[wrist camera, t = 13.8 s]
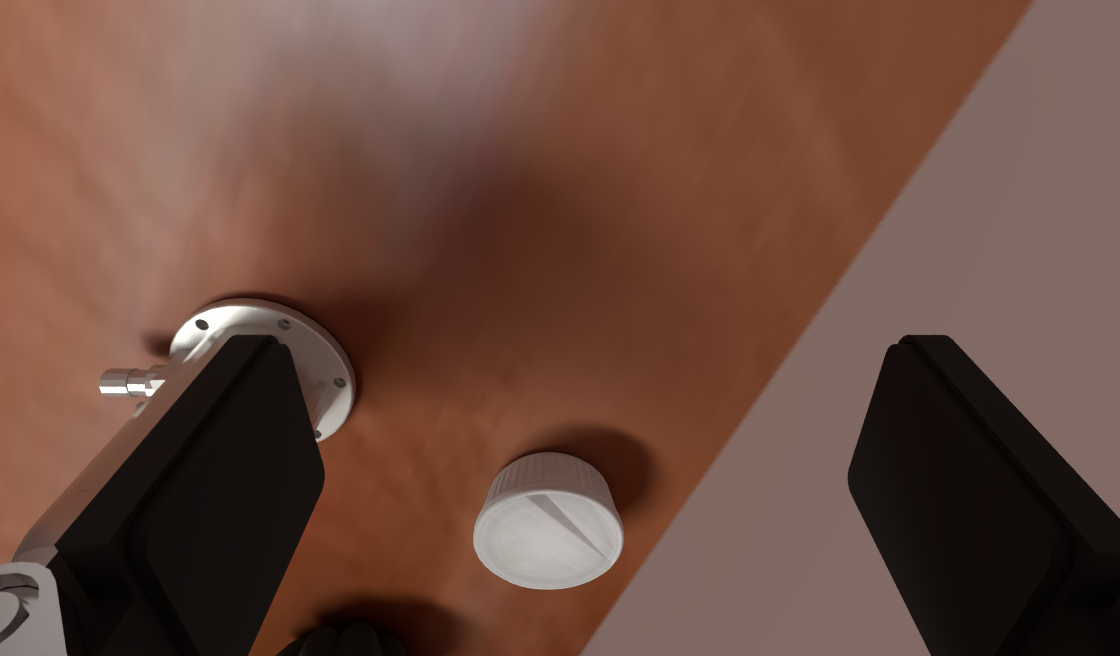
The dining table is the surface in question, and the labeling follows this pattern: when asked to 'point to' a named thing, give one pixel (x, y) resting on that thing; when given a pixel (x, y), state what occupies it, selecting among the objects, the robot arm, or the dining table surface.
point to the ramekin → (548, 523)
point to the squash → (345, 643)
